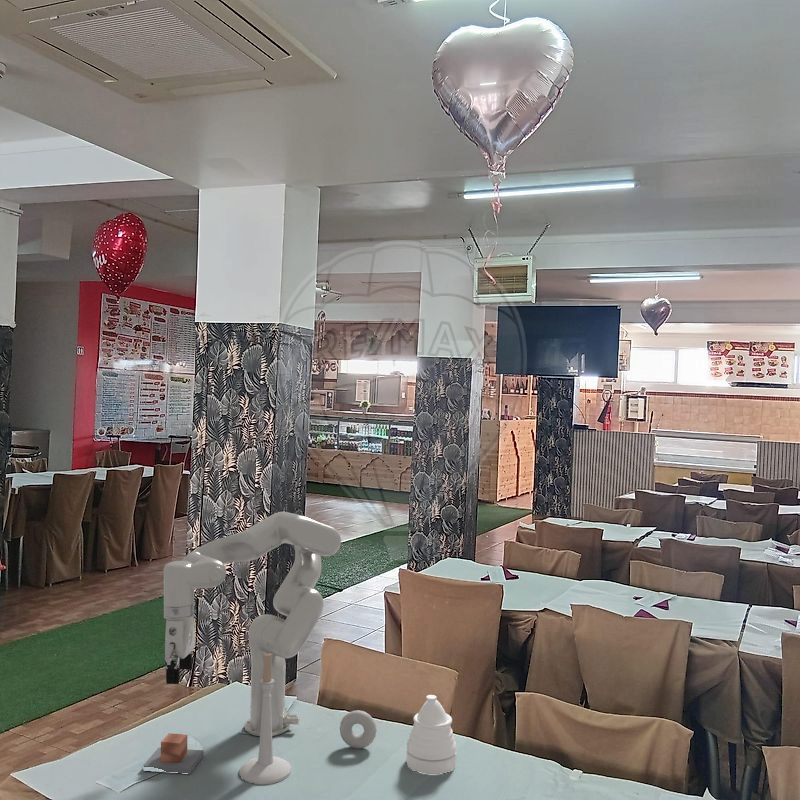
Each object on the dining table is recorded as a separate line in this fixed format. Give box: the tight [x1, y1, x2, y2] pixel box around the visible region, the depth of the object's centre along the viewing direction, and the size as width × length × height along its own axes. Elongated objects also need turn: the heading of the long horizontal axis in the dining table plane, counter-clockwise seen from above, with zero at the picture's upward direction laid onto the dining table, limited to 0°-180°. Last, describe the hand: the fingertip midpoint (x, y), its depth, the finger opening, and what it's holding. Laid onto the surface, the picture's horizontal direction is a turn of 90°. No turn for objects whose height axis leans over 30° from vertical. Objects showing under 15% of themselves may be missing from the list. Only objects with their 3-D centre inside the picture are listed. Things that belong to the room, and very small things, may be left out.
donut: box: [339, 709, 377, 750], centre depth 212 cm, size 10×4×10 cm, turn 82°
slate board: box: [142, 747, 204, 775], centre depth 201 cm, size 12×10×2 cm
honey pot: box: [405, 694, 457, 774], centre depth 204 cm, size 13×13×18 cm
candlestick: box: [238, 653, 292, 785], centre depth 198 cm, size 13×13×30 cm
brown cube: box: [160, 732, 189, 763], centre depth 201 cm, size 5×5×5 cm
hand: (179, 676), depth 204 cm, fingers open, 9 cm apart
